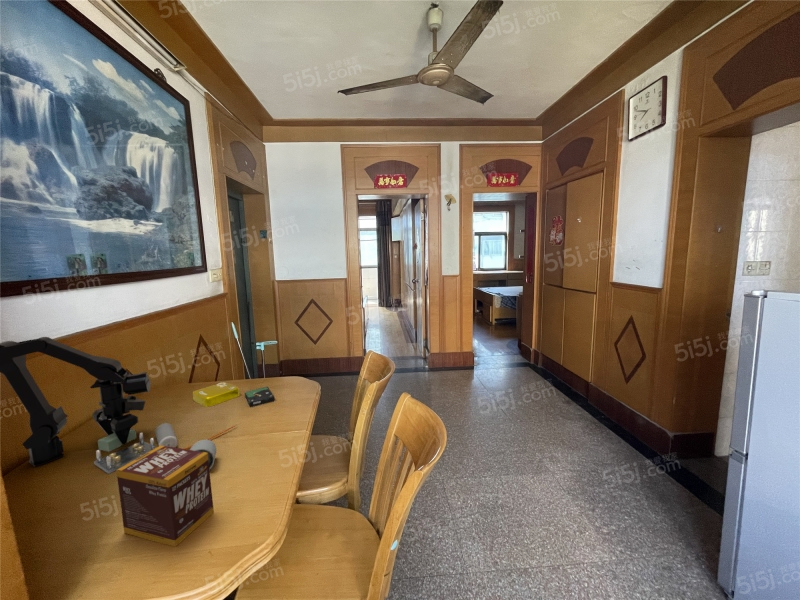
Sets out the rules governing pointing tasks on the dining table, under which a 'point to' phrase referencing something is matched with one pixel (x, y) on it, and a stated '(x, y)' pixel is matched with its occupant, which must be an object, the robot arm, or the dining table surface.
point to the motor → (172, 435)
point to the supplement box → (165, 494)
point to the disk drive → (259, 396)
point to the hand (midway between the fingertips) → (118, 440)
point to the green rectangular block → (114, 441)
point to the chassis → (123, 455)
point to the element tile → (215, 394)
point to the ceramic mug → (206, 449)
